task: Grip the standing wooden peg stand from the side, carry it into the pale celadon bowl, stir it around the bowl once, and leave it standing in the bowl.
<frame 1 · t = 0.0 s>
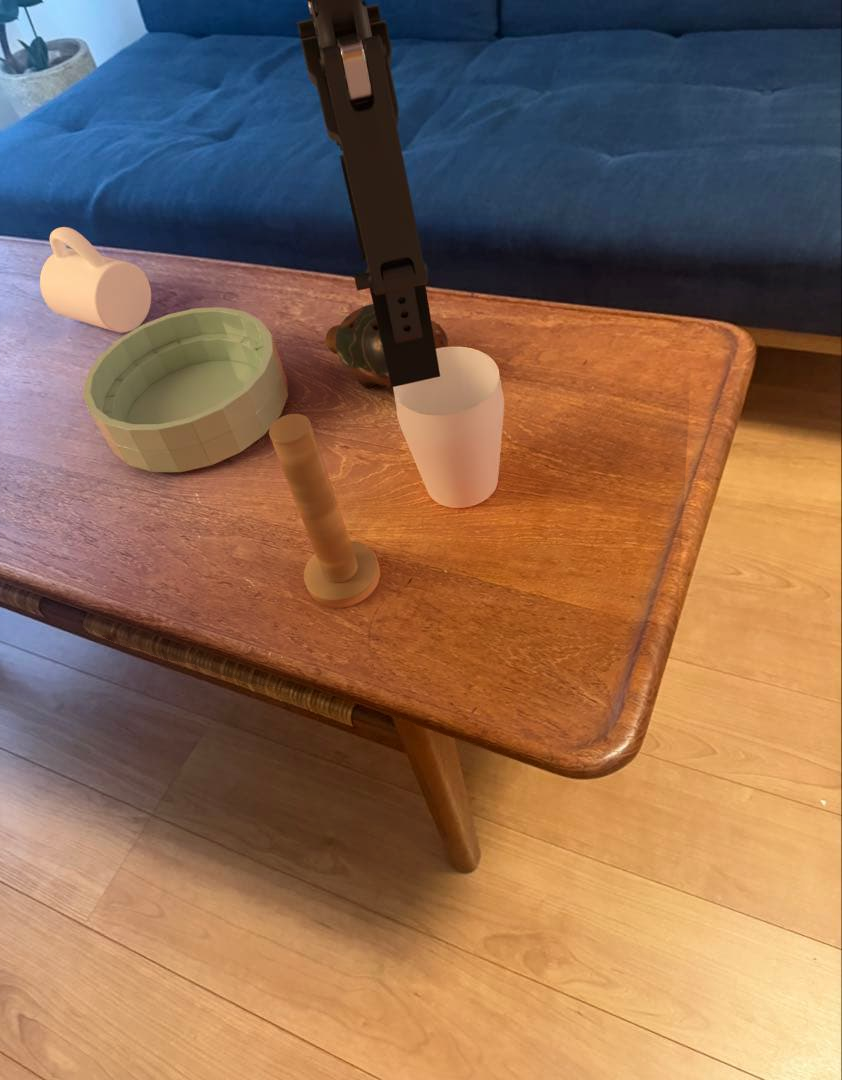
hand: (397, 310, 49), 26 cm above the table, tool pointing down, fingers open, 13 cm apart
mug: (111, 320, 103), on the table
decorative turtle: (392, 376, 87), on the table
cup: (462, 484, 75), on the table
wooden peg stand: (343, 577, 70), on the table
bowl: (200, 412, 88), on the table
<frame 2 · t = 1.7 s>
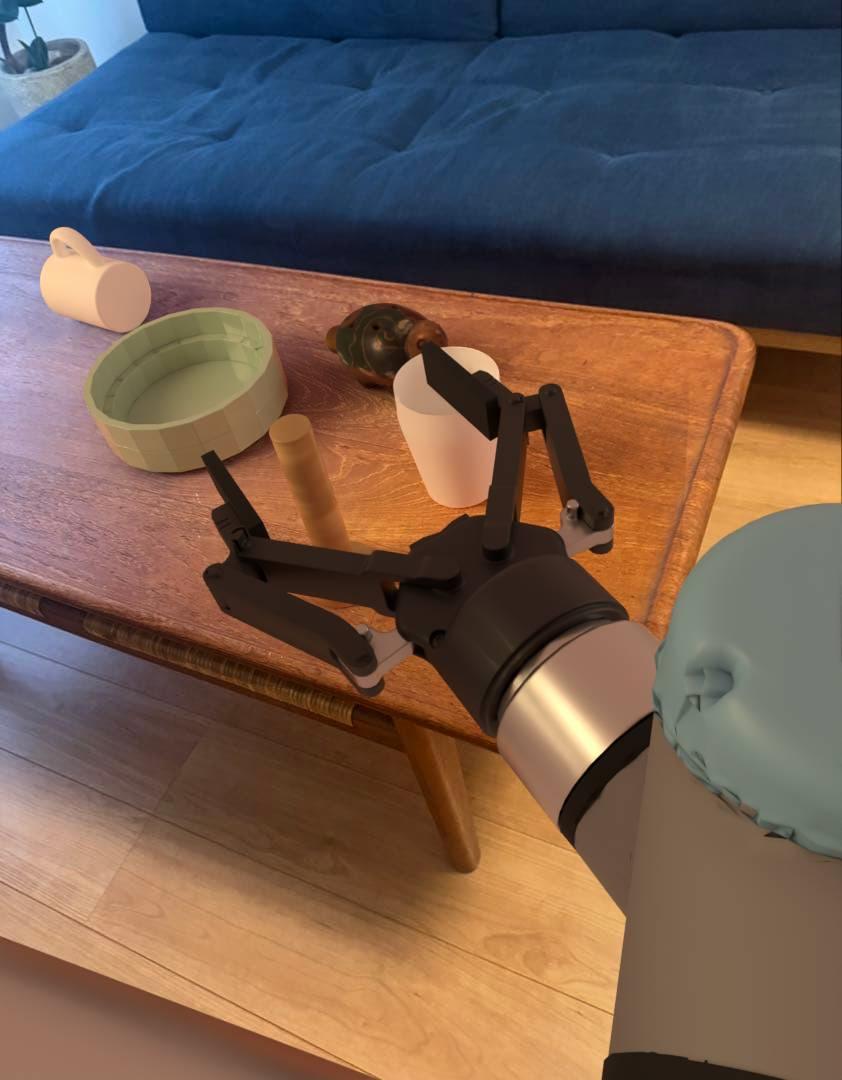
hand: (325, 414, 45), 25 cm above the table, tool horizontal, fingers open, 13 cm apart
nothing on the table moved.
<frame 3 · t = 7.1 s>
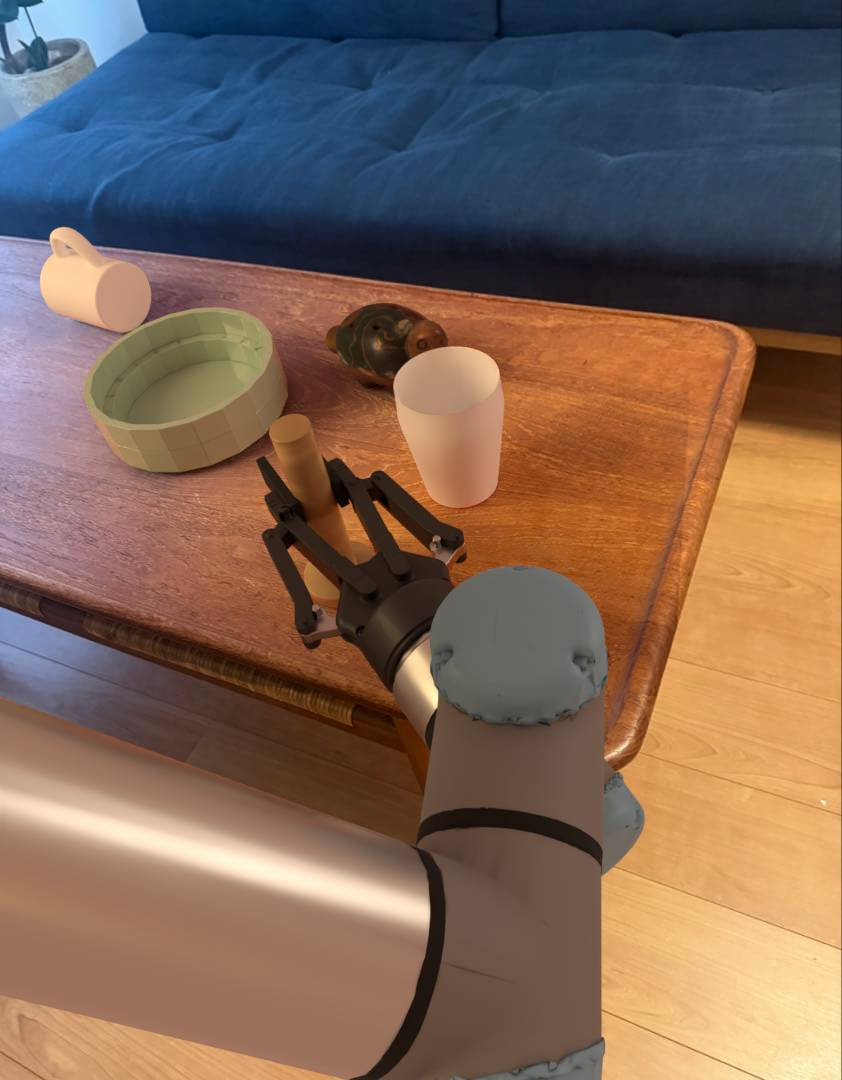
hand: (285, 459, 66), 10 cm above the table, tool horizontal, fingers closed on wooden peg stand, 3 cm apart
wooden peg stand: (343, 577, 70), on the table, touching gripper
everything else where it was.
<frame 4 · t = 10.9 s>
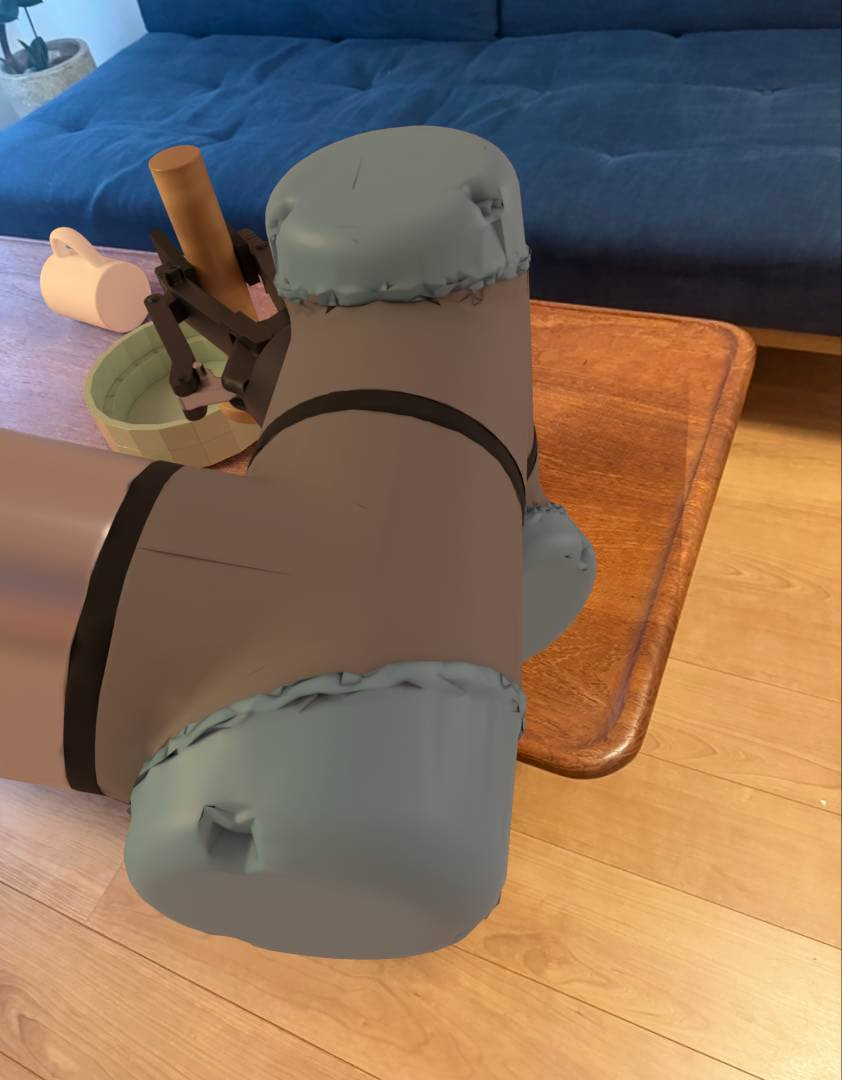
hand: (187, 238, 55), 28 cm above the table, tool horizontal, fingers closed on wooden peg stand, 3 cm apart
wooden peg stand: (262, 394, 59), point 18 cm above the table, touching gripper
everything else where it was.
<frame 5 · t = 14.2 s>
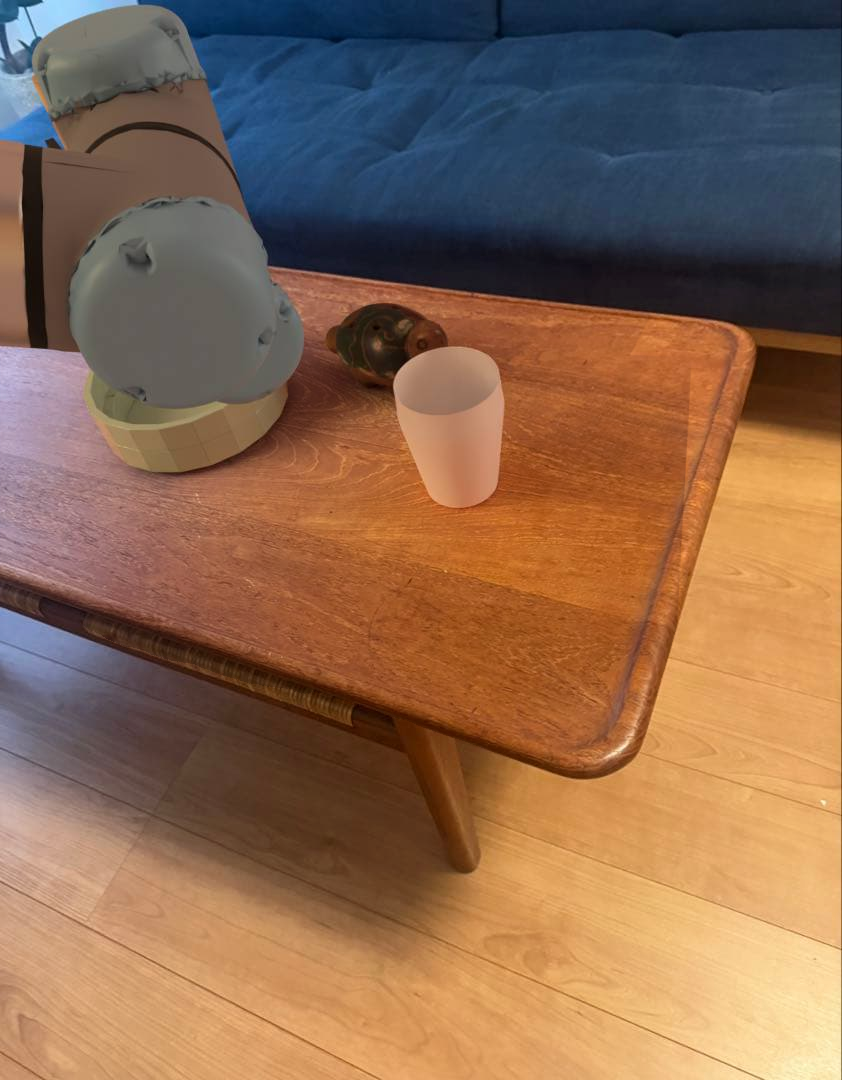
hand: (77, 147, 70), 27 cm above the table, tool horizontal, fingers closed on wooden peg stand, 3 cm apart
wooden peg stand: (144, 276, 74), point 17 cm above the table, touching gripper
everything else where it was.
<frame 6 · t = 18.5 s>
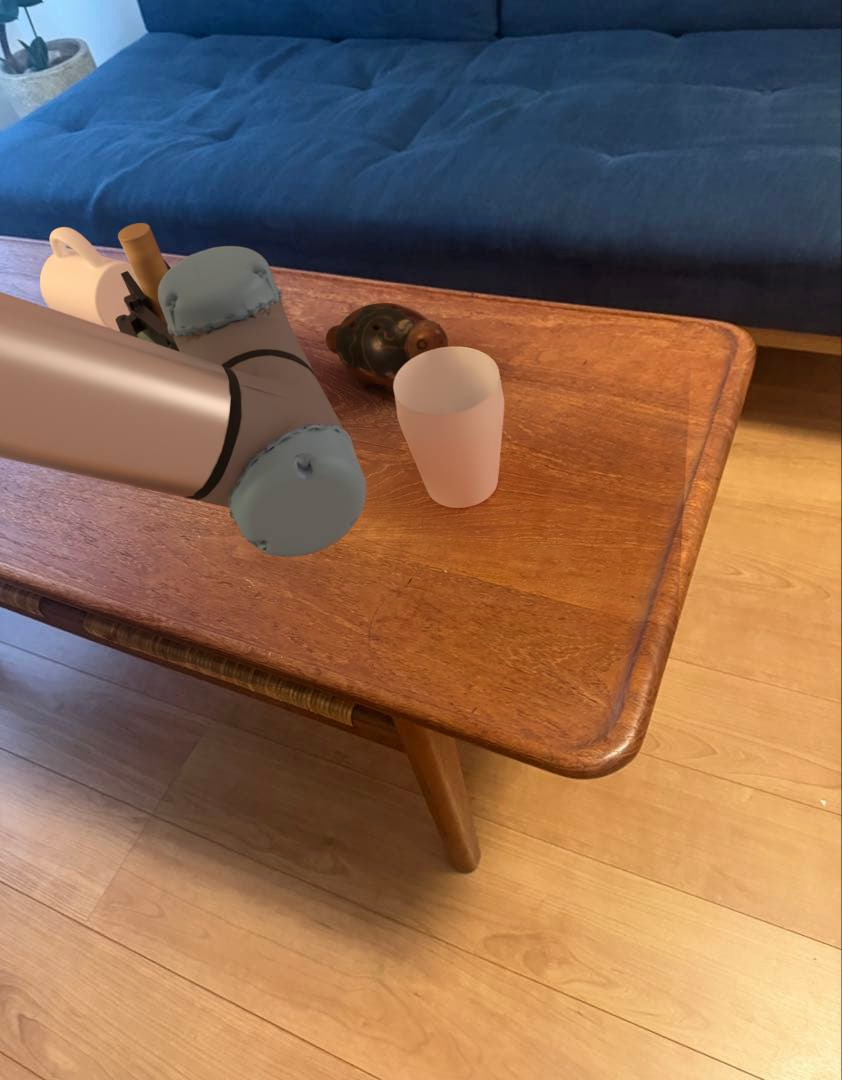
hand: (146, 276, 84), 12 cm above the table, tool horizontal, fingers closed on wooden peg stand, 3 cm apart
wooden peg stand: (199, 379, 88), point 2 cm above the table, touching gripper
everything else where it was.
when the fingers open (11 cm above the table, at t = 21.6 s): wooden peg stand stays where it is, resting on bowl.
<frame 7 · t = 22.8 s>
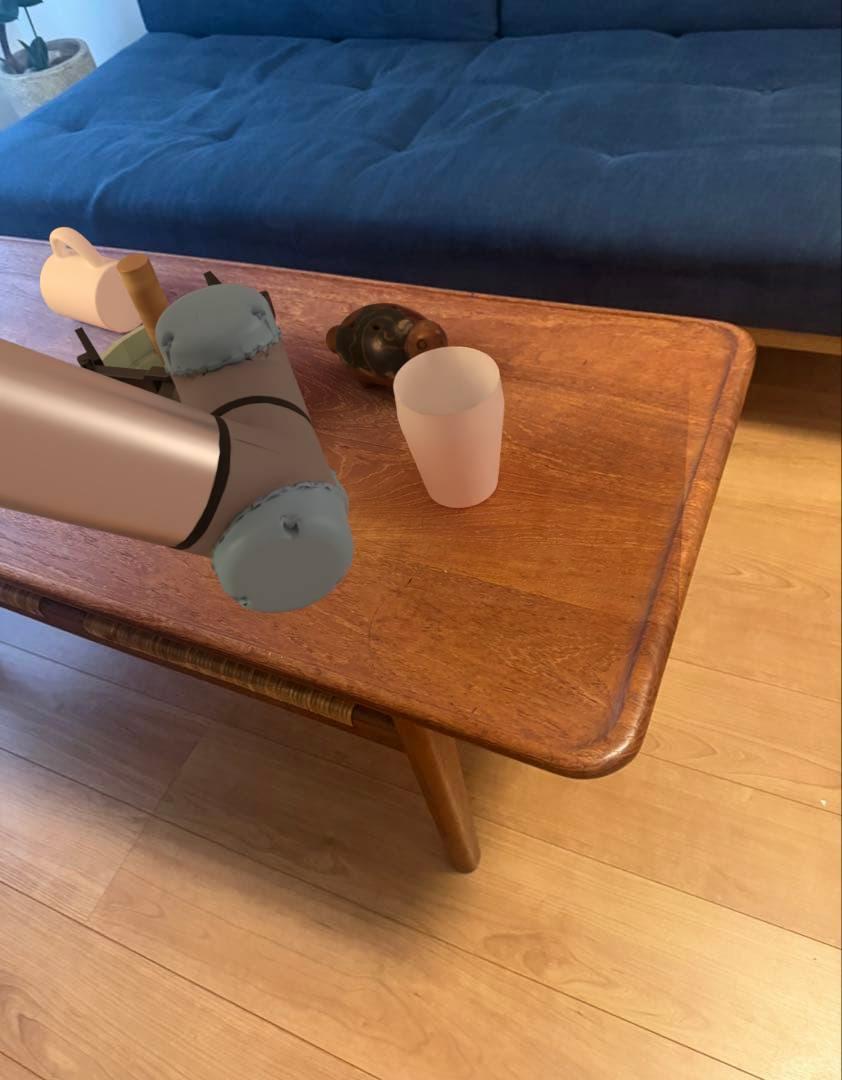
hand: (149, 311, 81), 11 cm above the table, tool horizontal, fingers open, 13 cm apart
wooden peg stand: (198, 406, 87), point 1 cm above the table, touching bowl
everything else where it was.
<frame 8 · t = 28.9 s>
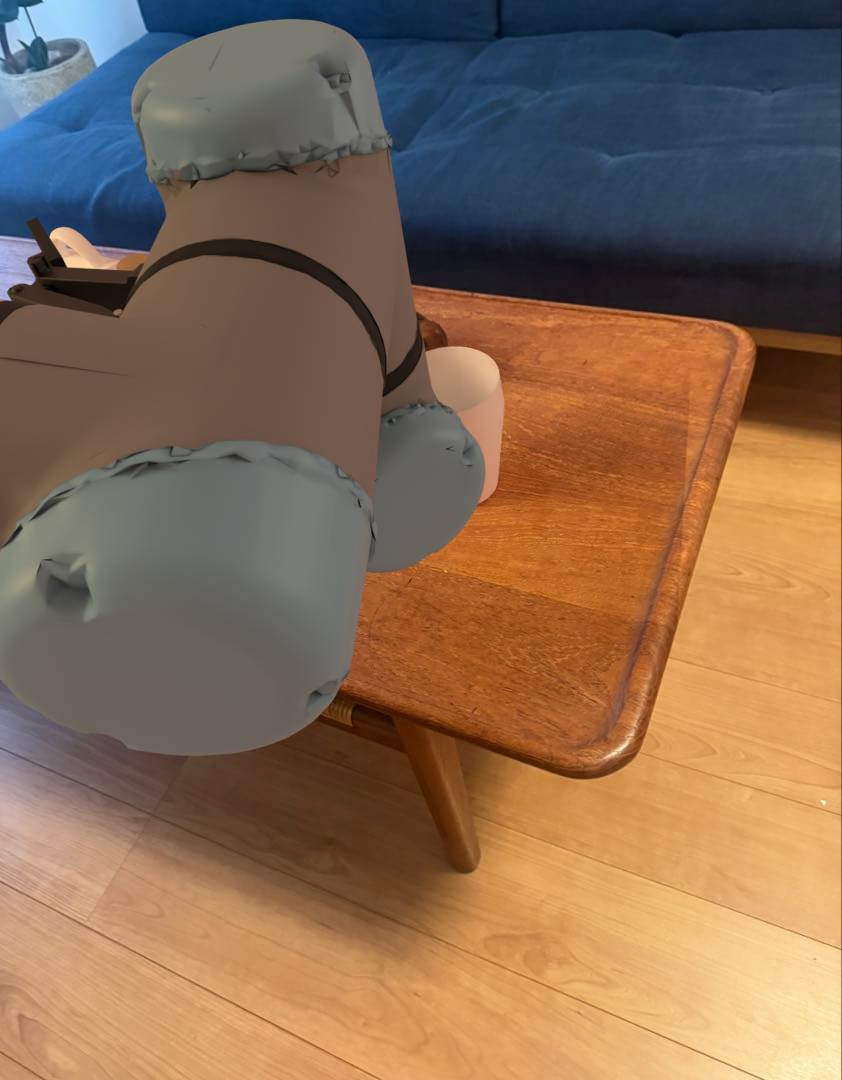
hand: (138, 199, 55), 30 cm above the table, tool horizontal, fingers open, 13 cm apart
nothing on the table moved.
at the end: wooden peg stand inside the target area in the bowl (0.1 cm from its centre), point 0.8 cm above the bowl's base; wooden peg stand tilted 0°; the gripper is holding nothing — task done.
